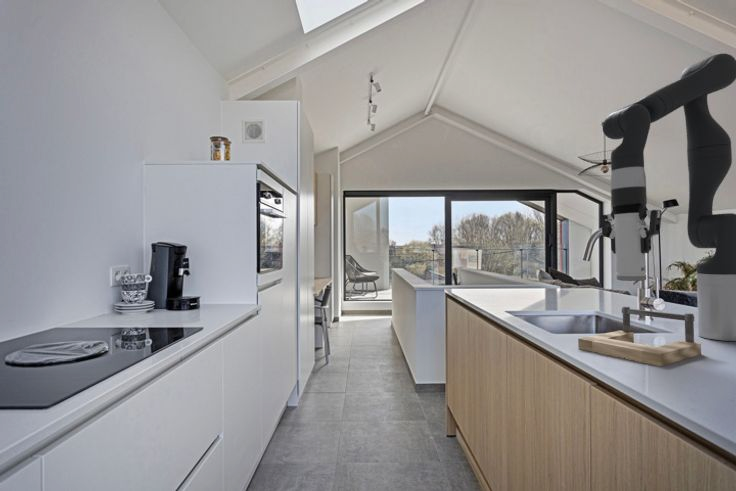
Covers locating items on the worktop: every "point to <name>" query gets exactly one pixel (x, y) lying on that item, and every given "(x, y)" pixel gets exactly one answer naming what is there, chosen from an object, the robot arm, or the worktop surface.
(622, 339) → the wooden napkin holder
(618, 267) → the travel mug
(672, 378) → the worktop surface
